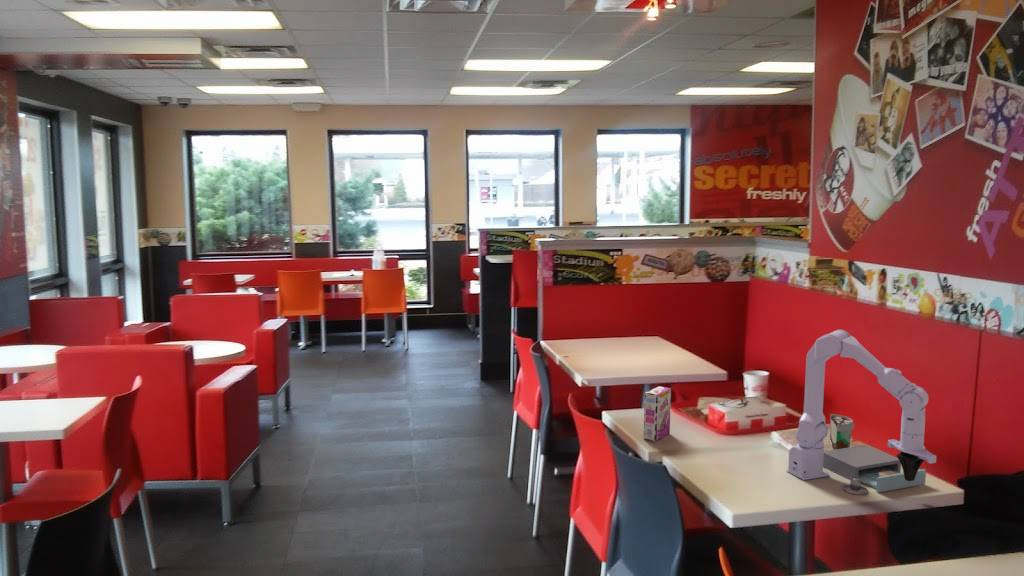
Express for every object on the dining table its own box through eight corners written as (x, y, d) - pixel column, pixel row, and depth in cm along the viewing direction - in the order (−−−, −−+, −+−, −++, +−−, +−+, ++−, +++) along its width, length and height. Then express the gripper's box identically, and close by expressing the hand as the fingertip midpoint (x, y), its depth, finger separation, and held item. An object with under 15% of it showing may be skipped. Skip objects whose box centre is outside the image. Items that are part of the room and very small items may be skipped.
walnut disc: (888, 484, 226) (889, 478, 226) (874, 477, 231) (874, 472, 231) (903, 481, 228) (903, 476, 228) (888, 475, 233) (889, 469, 233)
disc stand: (854, 496, 221) (855, 484, 220) (837, 487, 227) (838, 476, 226) (872, 493, 223) (873, 481, 222) (855, 484, 229) (856, 473, 228)
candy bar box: (656, 442, 266) (657, 394, 264) (643, 439, 269) (643, 392, 267) (670, 433, 275) (671, 387, 273) (657, 431, 278) (658, 385, 276)
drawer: (925, 484, 228) (926, 469, 228) (878, 492, 222) (879, 478, 222) (888, 468, 241) (889, 454, 240) (843, 475, 235) (844, 462, 234)
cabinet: (900, 473, 237) (901, 459, 236) (854, 481, 231) (855, 467, 230) (864, 458, 250) (865, 444, 249) (820, 465, 244) (821, 451, 243)
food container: (856, 456, 251) (858, 426, 250) (836, 455, 252) (837, 424, 251) (848, 443, 263) (850, 414, 262) (828, 442, 264) (830, 413, 263)
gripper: (946, 438, 212) (943, 487, 213) (902, 422, 225) (900, 469, 227) (925, 441, 209) (922, 491, 211) (883, 425, 223) (880, 472, 225)
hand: (909, 479), depth 219 cm, fingers closed
